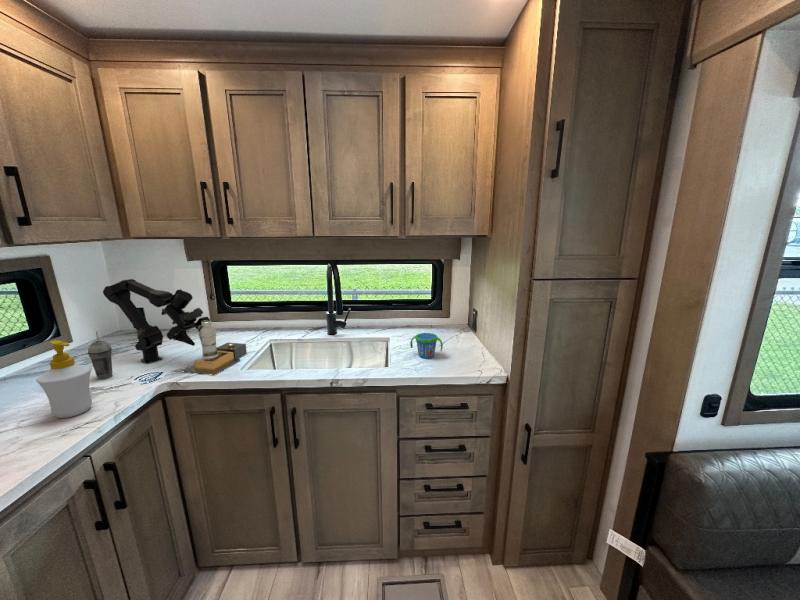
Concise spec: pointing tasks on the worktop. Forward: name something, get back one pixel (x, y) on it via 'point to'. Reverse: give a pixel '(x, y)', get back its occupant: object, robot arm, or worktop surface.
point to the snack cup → (426, 344)
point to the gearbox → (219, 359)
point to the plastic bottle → (208, 341)
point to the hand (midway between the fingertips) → (202, 341)
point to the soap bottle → (66, 384)
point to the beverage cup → (101, 358)
